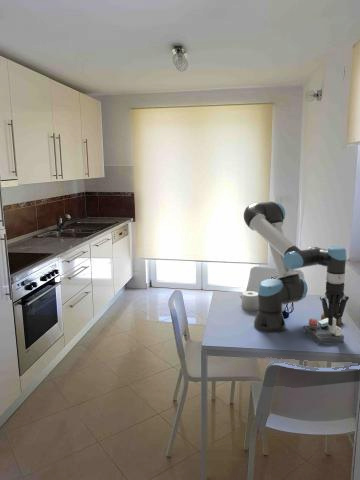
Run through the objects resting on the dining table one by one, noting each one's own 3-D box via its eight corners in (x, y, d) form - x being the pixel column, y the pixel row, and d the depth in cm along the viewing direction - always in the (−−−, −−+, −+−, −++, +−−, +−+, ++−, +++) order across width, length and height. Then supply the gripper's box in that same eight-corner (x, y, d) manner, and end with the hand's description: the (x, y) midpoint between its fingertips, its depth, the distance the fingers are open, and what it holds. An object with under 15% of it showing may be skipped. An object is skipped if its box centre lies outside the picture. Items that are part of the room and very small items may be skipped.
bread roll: (341, 328, 195) (343, 313, 196) (339, 327, 186) (341, 310, 188) (321, 325, 200) (323, 309, 201) (318, 323, 191) (320, 307, 193)
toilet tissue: (244, 302, 226) (244, 288, 224) (261, 308, 215) (262, 293, 214) (233, 306, 220) (233, 291, 218) (251, 312, 210) (251, 297, 208)
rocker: (322, 327, 179) (321, 324, 179) (318, 324, 183) (317, 321, 182) (331, 323, 180) (331, 320, 179) (327, 320, 183) (327, 317, 183)
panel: (318, 344, 169) (319, 336, 169) (304, 331, 183) (304, 324, 182) (343, 342, 171) (344, 334, 170) (327, 329, 185) (327, 322, 184)
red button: (311, 326, 178) (311, 321, 178) (307, 323, 182) (307, 318, 181) (318, 326, 179) (318, 321, 178) (314, 323, 182) (314, 318, 182)
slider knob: (335, 335, 170) (336, 328, 170) (331, 332, 174) (332, 325, 173) (340, 335, 171) (341, 328, 170) (336, 332, 174) (336, 324, 173)
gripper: (326, 285, 163) (323, 336, 167) (353, 283, 165) (350, 334, 169) (317, 280, 170) (314, 329, 174) (344, 278, 172) (341, 327, 176)
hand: (332, 331), depth 172 cm, fingers closed
